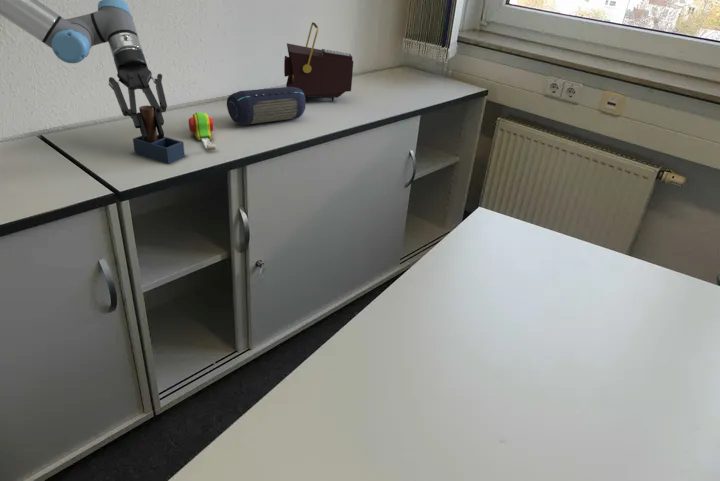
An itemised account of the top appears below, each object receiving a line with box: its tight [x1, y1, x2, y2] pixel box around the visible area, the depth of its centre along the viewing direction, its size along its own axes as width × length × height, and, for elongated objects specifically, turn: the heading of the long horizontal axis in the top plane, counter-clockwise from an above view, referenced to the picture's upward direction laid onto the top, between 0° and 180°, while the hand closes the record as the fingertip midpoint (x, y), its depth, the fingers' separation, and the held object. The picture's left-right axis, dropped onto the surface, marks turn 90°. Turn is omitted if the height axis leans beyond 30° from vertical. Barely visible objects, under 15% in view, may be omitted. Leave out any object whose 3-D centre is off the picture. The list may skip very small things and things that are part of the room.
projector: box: [283, 21, 354, 102], centre depth 189 cm, size 16×23×25 cm
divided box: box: [132, 134, 185, 165], centre depth 141 cm, size 6×11×4 cm, turn 64°
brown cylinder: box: [138, 105, 158, 143], centre depth 139 cm, size 3×3×10 cm
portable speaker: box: [226, 86, 307, 125], centre depth 168 cm, size 25×10×10 cm, turn 126°
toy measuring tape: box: [188, 111, 217, 151], centre depth 152 cm, size 6×19×7 cm, turn 25°
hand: (153, 137), depth 138 cm, fingers closed on brown cylinder, 3 cm apart
